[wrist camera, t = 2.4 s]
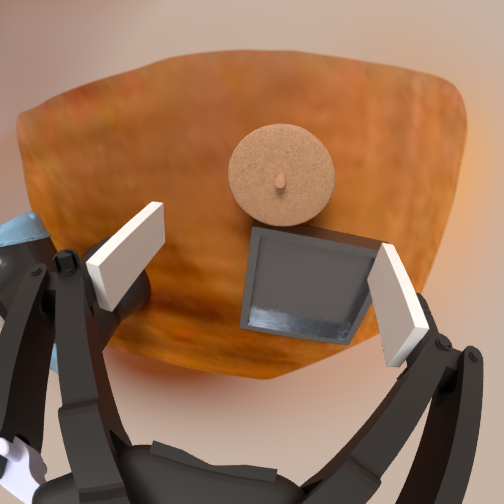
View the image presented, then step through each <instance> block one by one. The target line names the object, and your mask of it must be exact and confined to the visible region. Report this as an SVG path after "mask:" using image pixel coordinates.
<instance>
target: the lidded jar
mask: <svg viewBox="0 0 504 504" xmlns="http://www.w3.org/2000/svg"><path fill="white" fill-rule="evenodd" d="M228 182H229V186H230V190H231V192H232V195H233V197H234V198H235V200H236V202H237V203H238V204H239V206H240V207H241V208H242V209H243V210H244V211H245V212H246V213H247V214H249V215H250V216H251V217H253V218H254V219H256V220H258V221H260V222H263V223H266V224H269V225H274V226H293V225H297V224H301V223H303V222H306V221H308V220H310V219H312V218H313V217H315V216H316V215H317V214H319V213H320V212H321V211H322V210H323V208H324V207H325V206H326V205H327V203H328V202H329V200H330V198H331V196H332V193H333V190H334V186H335V169H334V165H333V161H332V159H331V156H330V154H329V152H328V151H327V149H326V148H325V146H324V145H323V144H322V142H321V141H320V140H319V139H318V138H317V137H315V136H314V135H313V134H311V133H310V132H309V131H307V130H305V129H303V128H301V127H298V126H295V125H290V124H273V125H268V126H264V127H261V128H259V129H257V130H255V131H253V132H251V133H250V134H248V135H247V136H246V137H244V138H243V139H242V140H241V142H240V143H239V144H238V145H237V147H236V148H235V149H234V151H233V153H232V156H231V158H230V162H229V166H228Z"/></svg>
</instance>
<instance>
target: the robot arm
mask: <svg viewBox="0 0 504 504" xmlns="http://www.w3.org/2000/svg"><path fill="white" fill-rule="evenodd" d="M50 236H51V235H50V233H48V232H47V230H46V228H45V226H44V224H43V222H42V220H41V218H40V217H39V215H38V214H37V213H35V212H33V211H28V212H25V213H23V214H21V215H19V216H17V217H15V218H13V219H11V220H9V221H8V222H6V223H4V224H2V225H0V327H1V328H2V331H1V333H0V484H1V485H2V486H3V487H4V488H5V489H7V490H8V491H9V492H10V493H12V494H13V495H14V496H16V497H17V498H18V499H20V500H21V501H22V502H24V503H25V504H366V503H367V501H368V500H369V499H370V498H371V497H372V496H373V494H374V493H375V492H376V491H377V489H378V488H379V486H380V484H381V480H380V478H381V476H382V475H383V473H384V472H385V471H386V470H387V468H388V467H389V465H390V464H391V462H392V461H393V460H394V459H395V457H396V456H397V454H398V453H399V451H400V450H401V448H402V447H403V445H404V444H405V442H406V441H407V439H408V438H409V436H410V435H411V433H412V431H413V430H414V428H415V426H416V425H417V423H418V421H419V419H420V418H421V416H422V414H423V412H424V411H425V409H426V407H427V405H428V403H429V401H430V399H431V397H432V400H431V404H430V409H429V413H428V416H427V420H426V424H425V427H424V431H423V435H422V438H421V441H420V444H419V447H418V450H417V453H416V456H415V459H414V461H413V464H412V466H411V469H410V472H409V474H408V477H407V479H406V482H405V484H404V486H403V488H402V491H401V493H400V495H399V497H398V499H397V501H396V503H395V504H462V501H463V498H464V495H465V492H466V489H467V485H468V482H469V478H470V474H471V470H472V466H473V462H474V457H475V452H476V447H477V441H478V435H479V428H480V420H481V410H482V397H483V357H482V355H481V353H480V351H479V350H478V349H477V348H475V347H473V346H467V347H466V348H465V349H464V351H463V352H461V351H459V350H456V349H453V348H452V344H451V342H450V340H449V339H448V338H447V337H446V336H444V335H443V334H439V332H438V329H437V327H436V324H435V322H434V319H433V316H432V315H431V312H430V310H429V307H428V304H427V302H426V300H425V299H424V298H423V296H422V295H421V294H420V293H415V291H414V288H413V286H412V284H411V282H410V279H409V277H408V275H407V273H406V271H405V268H404V266H403V264H402V262H401V260H400V258H399V256H398V254H397V252H396V250H395V248H394V246H393V245H391V244H386V243H382V244H381V247H380V249H379V252H378V254H377V257H376V259H375V262H374V264H373V267H372V269H371V272H370V274H369V276H368V279H367V281H368V285H369V289H370V293H371V297H372V301H373V305H374V309H375V313H376V317H377V322H378V326H379V331H380V336H381V341H382V346H383V351H384V356H385V362H386V366H387V367H400V366H401V365H402V364H403V363H404V361H405V360H406V362H407V368H406V369H405V370H404V371H403V372H402V373H401V374H400V375H399V377H398V378H397V382H396V383H395V384H394V386H393V387H392V389H391V390H390V392H389V393H388V394H387V396H386V397H385V398H384V400H383V401H382V402H381V404H380V405H379V406H378V407H377V409H376V410H375V411H374V413H373V414H372V415H371V416H370V418H369V419H368V420H367V421H366V422H365V424H364V425H363V426H362V427H361V428H360V429H359V431H358V432H357V433H356V434H355V435H354V436H353V437H352V439H351V440H350V441H349V442H348V443H347V444H346V445H345V446H344V447H343V448H342V449H341V450H340V451H339V452H338V454H336V456H335V457H334V458H333V459H332V460H331V461H330V462H328V463H327V464H326V465H325V467H323V468H322V469H321V470H320V471H319V472H318V473H317V474H315V475H314V476H312V477H311V478H310V479H308V480H307V481H306V482H305V483H304V484H302V485H301V486H300V487H299V486H297V485H296V484H295V483H294V482H292V481H290V480H289V479H287V478H285V477H283V476H281V475H278V474H277V469H272V468H264V467H257V466H250V465H228V466H226V465H225V466H215V465H210V464H208V463H206V462H204V461H202V460H200V459H198V458H196V457H194V456H193V455H191V454H189V453H187V452H185V451H183V450H181V449H178V448H175V447H172V446H169V445H165V444H162V443H160V442H157V441H153V443H152V445H134V446H132V444H131V441H130V440H129V437H128V435H127V434H126V432H125V430H124V428H123V425H122V422H121V419H120V416H119V413H118V410H117V407H116V404H115V400H114V397H113V394H112V390H111V387H110V383H109V379H108V375H107V371H106V367H105V363H104V358H103V354H102V351H103V349H104V348H105V346H106V345H107V343H108V341H109V340H110V338H111V336H112V335H113V333H114V332H115V330H116V329H117V327H118V326H119V324H120V322H121V321H123V320H124V319H125V318H127V317H128V316H129V315H131V314H132V313H133V312H135V311H137V310H138V309H140V308H141V307H142V306H143V304H144V303H145V301H146V300H147V298H148V296H149V293H150V285H149V280H148V277H147V275H146V273H145V271H144V268H145V267H146V266H147V264H148V263H149V262H150V260H151V259H152V258H153V257H154V255H155V254H156V253H157V252H158V250H159V249H160V248H161V247H162V245H163V244H164V243H165V230H164V210H163V203H159V202H151V203H150V204H149V205H148V206H146V207H145V208H144V209H143V210H142V211H141V212H139V213H138V214H137V215H136V216H135V217H134V218H132V219H131V220H130V221H129V222H128V223H127V224H126V225H125V226H123V227H122V228H121V229H120V230H119V231H118V232H117V233H116V234H115V235H114V236H109V237H107V238H105V239H103V240H101V241H100V242H99V243H96V244H94V245H93V246H92V247H91V248H90V249H89V250H88V251H87V252H86V253H85V254H84V256H83V258H82V259H81V260H80V261H79V259H78V255H77V252H76V251H75V250H74V249H64V250H62V251H59V252H57V250H56V248H55V246H54V244H53V242H52V240H51V238H50ZM49 369H51V370H53V371H54V372H56V373H58V374H59V383H60V390H61V396H62V407H61V408H59V410H58V418H59V423H60V428H61V433H62V437H63V441H64V445H65V450H66V453H67V457H68V461H69V464H70V468H71V471H72V472H71V473H69V474H66V475H64V476H61V477H58V478H56V479H53V480H50V481H48V482H46V480H45V477H44V475H45V474H46V473H47V466H46V464H45V463H44V462H43V459H42V457H41V455H40V454H41V448H42V442H43V431H44V411H45V400H46V391H47V382H48V375H49Z"/></svg>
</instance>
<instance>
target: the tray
mask: <svg viewBox="0 0 504 504" xmlns="http://www.w3.org/2000/svg"><path fill="white" fill-rule="evenodd" d="M382 243H386V244H389V243H388V242H384V241H379V240H375V239H370V238H365V237H361V236H356V235H351V234H346V233H341V232H336V231H331V230H326V229H321V228H316V227H311V226H306V225H300V224H297V225H293V226H274V225H269V224H266V223H263V222H260V221H258V220H256V219H255V220H254V222H253V225H252V231H251V239H250V247H249V255H248V263H247V272H246V280H245V288H244V296H243V304H242V312H241V320H240V328H243V329H248V330H253V331H258V332H264V333H269V334H275V335H281V336H287V337H293V338H299V339H306V340H312V341H319V342H327V343H335V344H343V345H349V344H350V342H351V340H352V338H353V337H354V335H355V333H356V331H357V329H358V328H359V326H360V324H361V322H362V320H363V318H364V316H365V314H366V312H367V310H368V308H369V307H370V305H371V303H372V297H371V293H370V289H369V285H368V281H367V279H368V276H369V274H370V272H371V269H372V267H373V264H374V262H375V259H376V257H377V254H378V252H379V249H380V247H381V244H382Z"/></svg>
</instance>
